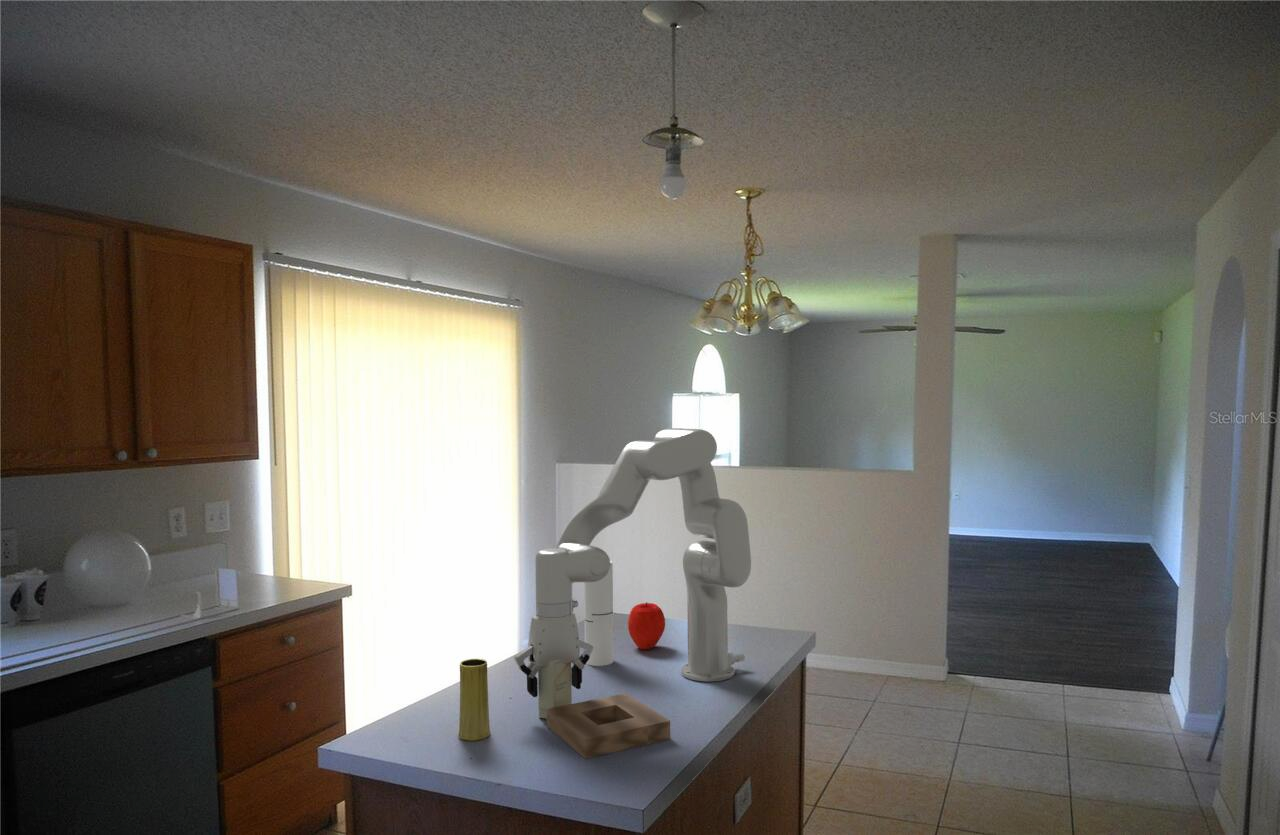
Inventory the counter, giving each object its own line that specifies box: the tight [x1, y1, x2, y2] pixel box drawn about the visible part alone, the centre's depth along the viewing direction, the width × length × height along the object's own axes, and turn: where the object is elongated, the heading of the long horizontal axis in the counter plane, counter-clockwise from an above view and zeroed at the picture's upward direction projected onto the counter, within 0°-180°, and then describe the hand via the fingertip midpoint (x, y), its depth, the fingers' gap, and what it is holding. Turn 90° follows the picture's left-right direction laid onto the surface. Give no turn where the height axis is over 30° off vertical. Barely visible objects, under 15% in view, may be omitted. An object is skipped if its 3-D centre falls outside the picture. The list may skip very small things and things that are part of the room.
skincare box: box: [537, 659, 573, 720], centre depth 175 cm, size 6×4×12 cm
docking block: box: [546, 693, 671, 760], centre depth 165 cm, size 18×18×4 cm
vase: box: [457, 658, 491, 742], centre depth 164 cm, size 6×6×14 cm
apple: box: [627, 601, 666, 651], centre depth 222 cm, size 10×10×12 cm
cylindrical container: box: [583, 560, 614, 667], centre depth 211 cm, size 7×7×25 cm
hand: (554, 691), depth 175 cm, fingers open, 9 cm apart
